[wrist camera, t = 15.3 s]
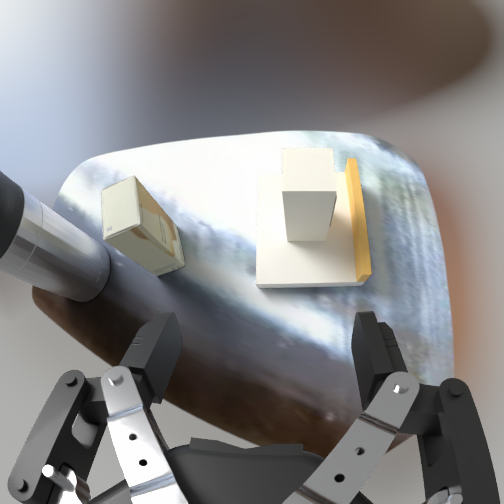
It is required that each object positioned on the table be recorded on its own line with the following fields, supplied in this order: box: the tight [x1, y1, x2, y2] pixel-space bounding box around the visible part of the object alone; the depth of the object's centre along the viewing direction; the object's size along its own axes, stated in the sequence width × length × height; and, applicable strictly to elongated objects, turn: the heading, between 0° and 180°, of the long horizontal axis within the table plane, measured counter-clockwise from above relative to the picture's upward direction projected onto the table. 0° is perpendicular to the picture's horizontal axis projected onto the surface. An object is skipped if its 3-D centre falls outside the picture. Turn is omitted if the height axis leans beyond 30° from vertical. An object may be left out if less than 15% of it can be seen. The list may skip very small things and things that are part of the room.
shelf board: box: [256, 158, 372, 288], centre depth 34 cm, size 12×14×5 cm
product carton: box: [282, 148, 337, 241], centre depth 29 cm, size 5×4×11 cm
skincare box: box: [101, 176, 185, 276], centre depth 32 cm, size 6×4×12 cm
